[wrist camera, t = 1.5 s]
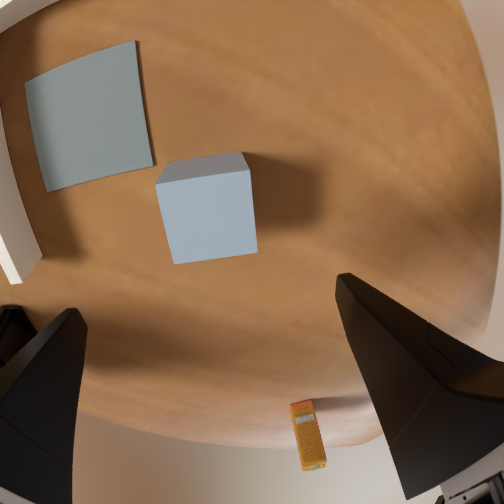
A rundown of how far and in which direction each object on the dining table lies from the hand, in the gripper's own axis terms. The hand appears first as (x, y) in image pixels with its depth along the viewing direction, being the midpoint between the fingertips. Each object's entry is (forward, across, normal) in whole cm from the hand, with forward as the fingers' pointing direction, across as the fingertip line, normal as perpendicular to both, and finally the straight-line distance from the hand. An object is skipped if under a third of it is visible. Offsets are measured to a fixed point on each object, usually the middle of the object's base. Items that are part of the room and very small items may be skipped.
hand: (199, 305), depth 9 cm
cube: (+13, 0, +1) cm, 13 cm away
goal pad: (+12, +8, -6) cm, 16 cm away
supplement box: (+12, -6, +33) cm, 36 cm away
